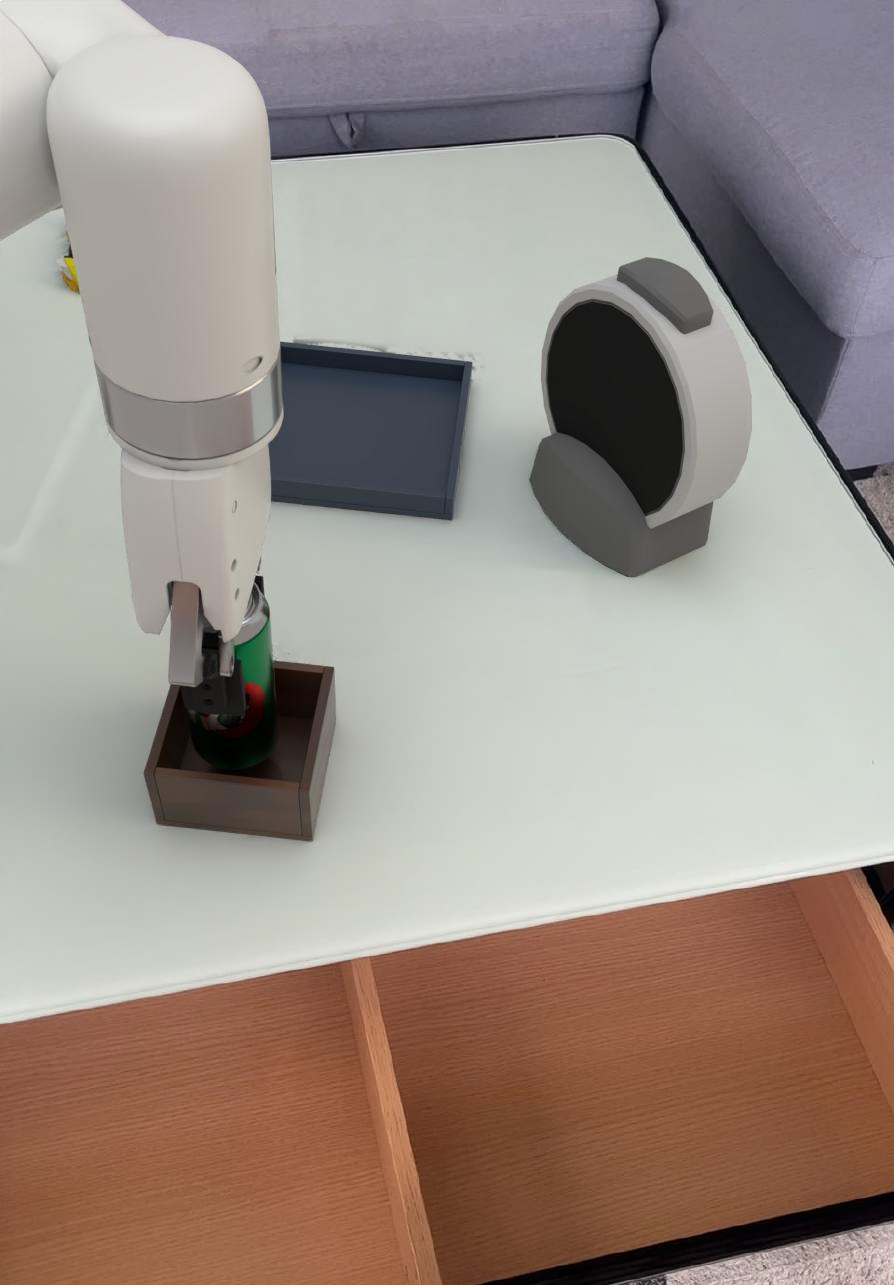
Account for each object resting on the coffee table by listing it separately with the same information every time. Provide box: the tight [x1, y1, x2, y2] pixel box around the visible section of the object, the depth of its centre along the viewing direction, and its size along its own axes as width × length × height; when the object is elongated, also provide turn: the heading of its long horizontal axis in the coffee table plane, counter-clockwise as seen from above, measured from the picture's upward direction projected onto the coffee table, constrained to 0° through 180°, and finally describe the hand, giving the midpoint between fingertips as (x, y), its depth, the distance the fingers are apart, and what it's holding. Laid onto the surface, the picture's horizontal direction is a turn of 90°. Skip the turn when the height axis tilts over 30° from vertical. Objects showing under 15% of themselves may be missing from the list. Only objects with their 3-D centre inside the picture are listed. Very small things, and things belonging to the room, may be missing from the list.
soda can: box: [170, 582, 279, 769], centre depth 65 cm, size 5×5×12 cm
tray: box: [268, 340, 473, 521], centre depth 89 cm, size 16×16×2 cm
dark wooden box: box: [143, 659, 337, 842], centre depth 69 cm, size 9×9×5 cm
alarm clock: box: [529, 256, 753, 578], centre depth 79 cm, size 16×10×18 cm, turn 33°
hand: (226, 664), depth 64 cm, fingers closed on soda can, 5 cm apart
